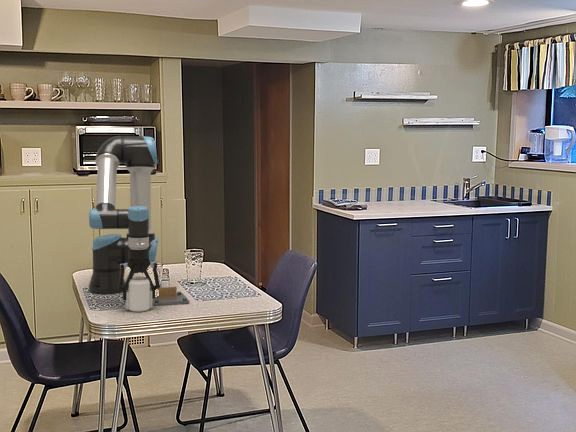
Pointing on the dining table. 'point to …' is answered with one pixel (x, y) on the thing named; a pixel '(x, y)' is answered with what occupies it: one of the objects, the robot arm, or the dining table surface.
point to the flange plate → (169, 297)
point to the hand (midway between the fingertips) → (139, 307)
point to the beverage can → (139, 294)
